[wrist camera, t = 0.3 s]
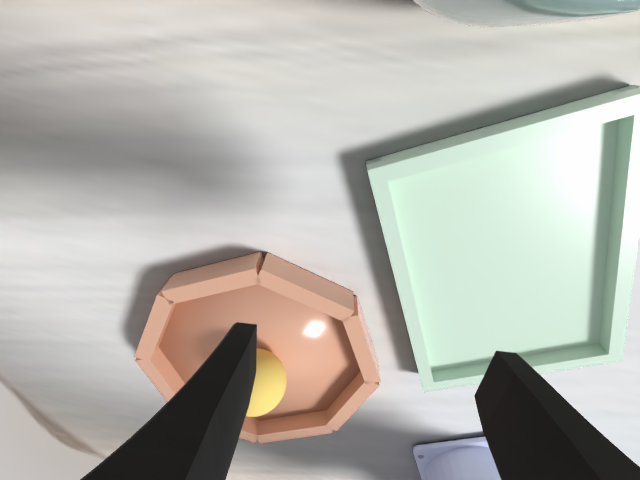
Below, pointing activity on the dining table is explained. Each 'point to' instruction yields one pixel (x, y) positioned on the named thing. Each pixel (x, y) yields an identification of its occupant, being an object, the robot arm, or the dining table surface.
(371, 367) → the dish
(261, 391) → the ball
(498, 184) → the tray
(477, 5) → the cup
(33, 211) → the dining table surface
